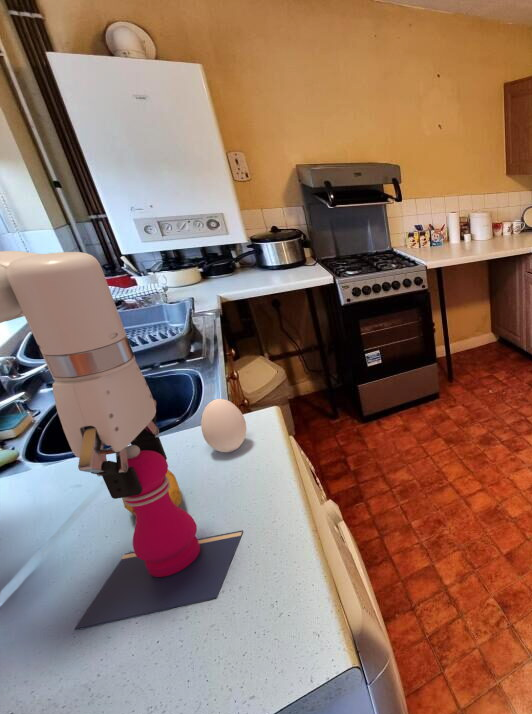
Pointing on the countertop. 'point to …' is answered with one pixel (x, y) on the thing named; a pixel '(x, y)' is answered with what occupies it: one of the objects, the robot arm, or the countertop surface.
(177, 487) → the potato
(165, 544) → the pepper mill
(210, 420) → the egg
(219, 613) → the countertop surface
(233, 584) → the countertop surface
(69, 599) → the countertop surface
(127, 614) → the napkin
